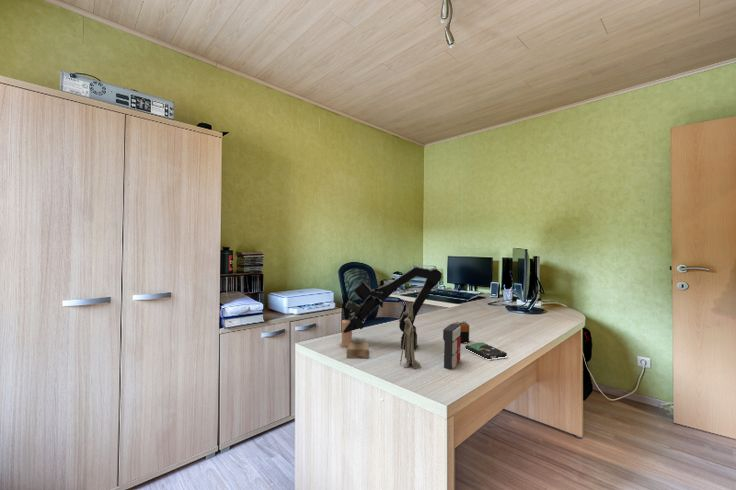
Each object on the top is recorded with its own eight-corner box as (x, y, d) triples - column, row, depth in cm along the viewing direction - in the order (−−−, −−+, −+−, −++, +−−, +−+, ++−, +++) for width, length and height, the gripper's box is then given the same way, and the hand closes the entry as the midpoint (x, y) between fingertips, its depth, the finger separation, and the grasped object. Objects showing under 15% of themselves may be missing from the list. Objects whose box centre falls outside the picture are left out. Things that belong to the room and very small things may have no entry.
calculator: (453, 370, 116) (454, 331, 116) (442, 367, 119) (443, 329, 119) (461, 361, 126) (462, 324, 126) (450, 359, 128) (451, 323, 128)
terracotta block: (351, 343, 145) (351, 320, 145) (351, 346, 140) (352, 322, 140) (341, 343, 145) (342, 320, 144) (341, 346, 140) (342, 322, 140)
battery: (469, 343, 149) (469, 322, 149) (456, 343, 148) (456, 323, 148) (464, 340, 154) (465, 320, 154) (452, 340, 152) (452, 320, 152)
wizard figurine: (395, 360, 125) (396, 299, 125) (414, 358, 127) (416, 298, 127) (404, 370, 115) (405, 304, 115) (425, 368, 117) (426, 303, 117)
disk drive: (507, 359, 131) (482, 347, 144) (507, 353, 131) (482, 341, 144) (488, 362, 127) (464, 350, 141) (488, 355, 127) (464, 344, 141)
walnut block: (368, 351, 136) (368, 342, 136) (368, 359, 127) (368, 349, 127) (348, 351, 136) (348, 342, 136) (346, 358, 127) (346, 349, 126)
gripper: (355, 291, 152) (332, 313, 151) (357, 298, 133) (331, 323, 133) (370, 307, 153) (347, 329, 152) (374, 316, 134) (348, 341, 133)
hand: (343, 330), depth 142 cm, fingers closed on terracotta block, 4 cm apart
